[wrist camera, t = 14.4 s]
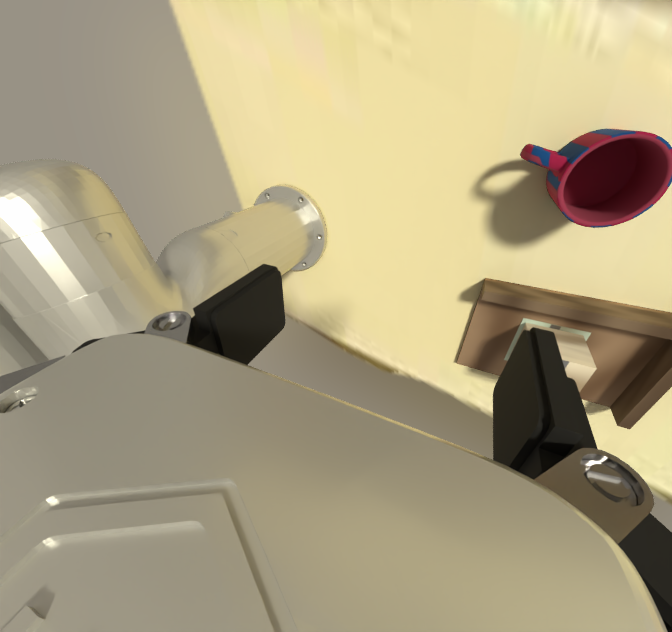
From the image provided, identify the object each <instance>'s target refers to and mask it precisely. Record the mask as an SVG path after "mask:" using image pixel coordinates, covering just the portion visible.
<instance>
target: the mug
mask: <svg viewBox="0 0 672 632" xmlns="http://www.w3.org/2000/svg"><path fill="white" fill-rule="evenodd" d="M520 156H521V158H523V159H524V160H526V161H529V162H531V163H534V164H536V165H539V166H541V167H544V168H547V169H549V170H548V173H547V178H546V186H547V190H548V193H549V195H550V196H551V198H552V199H553V201H554V202H555V203H556V205H557V206H558V208H559V209H560V210H561V212H562V213H563V214H564V215H565V217H567V218H568V219H569V220H570V221H572V222H574V223H576V224H578V225H582V226H585V227H593V228H595V227H608V226H614V225H617V224H621V223H624V222H626V221H629V220H631V219H633V218H635V217H637V216H639V215H640V214H642V213H643V212H645V211H646V210H648V209H649V208H651V207H652V206H653V205H654V204H655V203H656V202H657V201H658V200H659V199H660V198H661V197H662V196H663V194H664V193H665V192H666V191H667V189H668V187H669V186H670V184H671V182H672V147H671V146H670V144H669V143H668V142H667V141H665V140H664V139H663V138H662V137H659V136H657V135H655V134H652V133H647V132H641V131H630V130H619V129H601V130H596V131H592V132H589V133H586V134H584V135H582V136H580V137H578V138H576V139H574V140H573V141H571V142H570V143H569V144H567V145H566V146H565V147H564V148H563V149H562V150H561V151H560V152H556V151H552V150H548V149H545V148H542V147H539V146H536V145H532V144H527V145H526V146H525V147H524V148H523V149H522V152H521V154H520Z"/></svg>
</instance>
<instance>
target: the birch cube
mask: <svg viewBox="0 0 672 632" xmlns="http://www.w3.org/2000/svg"><path fill="white" fill-rule="evenodd" d="M532 327H535V328H539V329H544V330H548V331H552V332H554V334H555V337H556V340H557V344H558V347H559V351H560V354H561V357H562V361H563V364H564V368H565V371H566V374H567V377H569V378H572V379H574V380H575V382H576V384H577V387H578V390H579V392H580V391H581V389H582V388H583V387H584V385H585V384H586V383H587V381H588V380H589V379H590V377H591V376H592V375H593V373H594V372H595V370H596V369H597V368H596V365H595V363H594V361H593V358H592V356H591V353H590V351H589V348H588V346H587V343H586V341H585V338H584V336H583V335H579V334H575V333H570V332H566V331H561V330H557V329H552V328H548V327H543V326H539V325H535V324H530V323H525V325H524V327H523V329H522V331H521V333H522V332H523V330H529V331H530V329H531V328H532ZM521 333H520V335H521ZM520 335H519V337H520ZM518 339H519V338H518ZM517 341H518V340H517ZM516 343H517V342H516ZM515 345H516V344H515ZM514 347H515V346H514ZM513 349H514V348H513ZM512 351H513V350H512ZM511 353H512V352H511ZM510 355H511V354H510ZM509 357H510V356H509Z"/></svg>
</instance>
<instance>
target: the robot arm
mask: <svg viewBox="0 0 672 632" xmlns="http://www.w3.org/2000/svg"><path fill="white" fill-rule="evenodd" d="M326 243H327V230H326V224H325V221H324V218H323V215H322V213H321V211H320V209H319V208H318V206H317V205H316V203H315V202H314V201H313V200H312V199H311V198H310V197H309V196H308V195H307V194H306V193H304V192H303V191H302V190H300V189H298V188H295V187H293V186H289V185H277V186H273V187H270V188H268V189H266V190H265V191H263V192H262V193H261V194H260V195H259V197H258V198H257V199H256V202H255V204H254V207H251V208H248V209H245V210H243V211H240V212H237V213H236V212H229V211H227V212H225V214H224V218H221V219H218V220H215V221H213V222H210V223H207V224H204V225H202V226H199V227H196V228H193V229H190V230H188V231H185V232H183V233H181V234H179V235H178V236H177V237H175V238H174V239H172V240H171V241H170V242H169V244H167V246H166V247H165V248H164V250H163V251H162V252H161V254H160V256H159V257H158V260H157V261H156V262H155V261H154V259H153V257H152V256H151V254H150V252H149V251H148V249H147V247H146V246H145V244H144V243H143V241H142V239H141V237H140V235H139V234H138V232H137V230H136V229H135V227H134V225H133V224H132V222H131V220H130V218H129V217H128V215H127V213H126V212H125V211H124V209H123V207H122V206H121V204H120V202H119V201H118V199H117V198H116V196H115V195H114V193H113V192H112V190H111V189H110V188H109V186H108V185H107V184H106V183H105V182H104V180H103V179H102V178H100V177H99V176H98V175H97V174H96V173H95V172H93V171H92V170H90V169H89V168H87V167H84V166H82V165H80V164H78V163H75V162H70V161H66V160H57V159H37V160H28V161H21V162H15V163H9V164H4V165H0V632H672V532H670V531H669V530H668V529H667V528H666V527H665V526H664V525H663V524H662V523H660V522H659V521H658V520H657V519H656V518H654V516H652V515H651V514H650V512H651V511H652V509H653V507H654V498H653V494H652V492H651V490H650V488H649V486H648V485H647V483H646V482H645V481H644V480H643V479H642V477H641V476H640V475H639V474H638V473H637V472H636V471H635V470H634V469H632V468H631V467H630V466H629V465H628V464H626V463H625V462H623V461H622V460H620V459H619V458H617V457H616V456H614V455H611V454H609V453H607V452H605V451H602V450H598V449H597V446H596V443H595V440H594V437H593V434H592V431H591V427H590V424H589V421H588V418H587V415H586V412H585V409H584V406H583V403H582V399H581V396H580V393H579V390H578V387H577V384H576V382H575V380H574V379H572V378H569V377H567V374H566V371H565V368H564V364H563V361H562V357H561V354H560V351H559V347H558V344H557V340H556V337H555V334H554V332H552V331H548V330H544V329H539V328H535V327H532V328H531V329H530V331H529V330H523V332H522V333H521V335H520V337H519V339H518V341H517V343H516V345H515V347H514V349H513V351H512V353H511V355H510V357H509V359H508V361H507V363H506V365H505V367H504V369H503V371H502V373H501V375H500V377H499V379H498V381H497V383H496V385H495V388H494V392H493V450H494V451H493V454H494V455H493V457H494V458H493V460H492V459H489V458H487V457H485V456H482V455H480V454H477V453H475V452H473V451H471V450H468V449H466V448H463V447H461V446H458V445H456V444H453V443H451V442H448V441H446V440H443V439H440V438H438V437H435V436H433V435H430V434H428V433H425V432H423V431H420V430H418V429H415V428H412V427H410V426H407V425H405V424H402V423H399V422H397V421H394V420H391V419H389V418H386V417H383V416H381V415H378V414H376V413H373V412H371V411H368V410H365V409H363V408H360V407H357V406H355V405H352V404H350V403H347V402H344V401H342V400H339V399H336V398H333V397H331V396H328V395H326V394H323V393H320V392H318V391H315V390H312V389H310V388H307V387H305V386H301V385H299V384H296V383H294V382H291V381H289V380H286V379H283V378H281V377H278V376H275V375H272V374H270V373H267V372H264V371H262V370H259V369H256V368H254V367H251V366H248V364H249V362H250V361H251V360H253V358H255V356H256V355H258V353H260V351H261V350H262V349H263V348H264V347H265V346H266V345H267V344H268V343H269V342H270V341H271V340H272V339H273V338H274V337H275V336H276V335H277V334H278V333H279V332H280V331H281V330H282V329H283V328H284V326H285V312H284V301H283V290H282V278H281V276H282V275H283V274H284V273H286V272H287V271H289V270H295V271H297V270H304V269H307V268H309V267H311V266H313V265H314V264H315V263H316V262H317V261H318V260H319V259H320V258H321V257H322V255H323V253H324V251H325V247H326Z"/></svg>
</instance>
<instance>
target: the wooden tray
mask: <svg viewBox="0 0 672 632" xmlns="http://www.w3.org/2000/svg"><path fill="white" fill-rule="evenodd" d="M525 323H530V324H535V325H539V326H543V327H548V328H552V329H557V330H561V331H566V332H570V333H575V334H579V335H583V336H584V338H585V341H586V343H587V346H588V348H589V351H590V353H591V356H592V358H593V361H594V363H595V365H596V368H597V369H596V370H595V372H594V373H593V375H592V376H591V377H590V379H589V380H588V381H587V383H586V384H585V385H584V387H583V388H582V389H581V391H580V392H579V393H580V396H581V399H584V400H587V401H591V402H594V403H598V404H601V405H605V406H608V407H610V408H611V411H612V413H613V416H614V418H615V421H616V423H617V426H620V427H624V428H627V429H631V428H632V427H633V426H634V424H635V423H636V422H637V421H638V420H639V419H640V418H641V417H642V416H643V415H644V414H645V413H646V412H647V411H648V410H649V409H650V408H651V407H652V406H653V405H654V404H655V403H656V402H657V401H658V400H659V399H660V398H661V397H662V396H663V395H664V394H665V393H666V392H667V391H668V390H669V389H670V388H671V387H672V313H670V312H665V311H660V310H654V309H649V308H643V307H638V306H633V305H627V304H622V303H617V302H611V301H606V300H601V299H595V298H590V297H584V296H579V295H574V294H568V293H563V292H558V291H552V290H547V289H541V288H536V287H531V286H525V285H520V284H515V283H509V282H504V281H499V280H493V279H488V278H485V281H484V284H483V287H482V290H481V293H480V296H479V298H478V301H477V304H476V307H475V310H474V313H473V316H472V319H471V322H470V325H469V328H468V331H467V333H466V336H465V339H464V342H463V345H462V348H461V351H460V354H459V357H458V360H457V364H461V365H464V366H468V367H471V368H475V369H478V370H482V371H485V372H489V373H492V374H496V375H499V376H500V375H501V373H502V371H503V369H504V367H505V365H506V363H507V361H508V359H509V356H510V354H511V352H512V350H513V348H514V346H515V344H516V342H517V340H518V338H519V335H520V333H521V331H522V329H523V327H524V325H525Z"/></svg>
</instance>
